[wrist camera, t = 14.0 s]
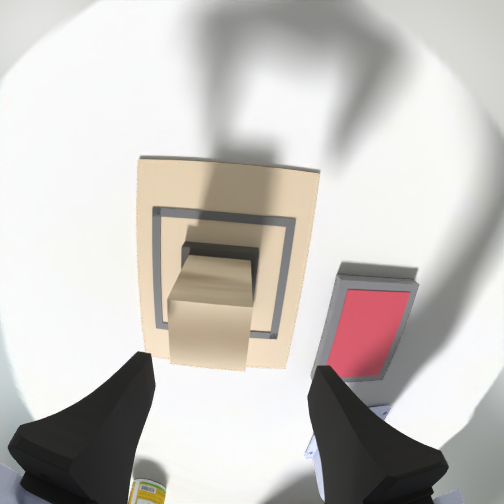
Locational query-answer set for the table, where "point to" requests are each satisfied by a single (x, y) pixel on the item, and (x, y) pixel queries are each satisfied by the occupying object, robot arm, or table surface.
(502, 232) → the table surface
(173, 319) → the stamp
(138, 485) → the supplement bottle
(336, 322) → the ink pad
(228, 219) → the cardboard sheet
